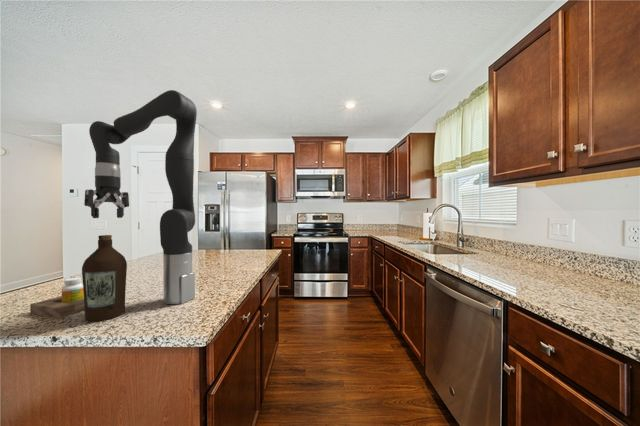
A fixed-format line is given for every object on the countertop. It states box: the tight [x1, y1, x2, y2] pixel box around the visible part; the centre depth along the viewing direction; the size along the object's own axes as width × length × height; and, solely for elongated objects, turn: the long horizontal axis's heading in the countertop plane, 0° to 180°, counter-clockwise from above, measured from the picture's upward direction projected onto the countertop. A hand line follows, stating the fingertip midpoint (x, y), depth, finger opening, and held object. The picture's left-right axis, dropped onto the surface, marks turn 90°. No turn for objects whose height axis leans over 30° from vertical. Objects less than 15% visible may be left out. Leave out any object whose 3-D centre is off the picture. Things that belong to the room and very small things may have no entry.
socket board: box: [29, 295, 85, 319], centre depth 84 cm, size 14×14×3 cm
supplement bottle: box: [61, 277, 84, 303], centre depth 84 cm, size 5×5×10 cm
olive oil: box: [81, 234, 128, 323], centre depth 77 cm, size 11×11×25 cm
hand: (108, 217), depth 96 cm, fingers open, 8 cm apart
